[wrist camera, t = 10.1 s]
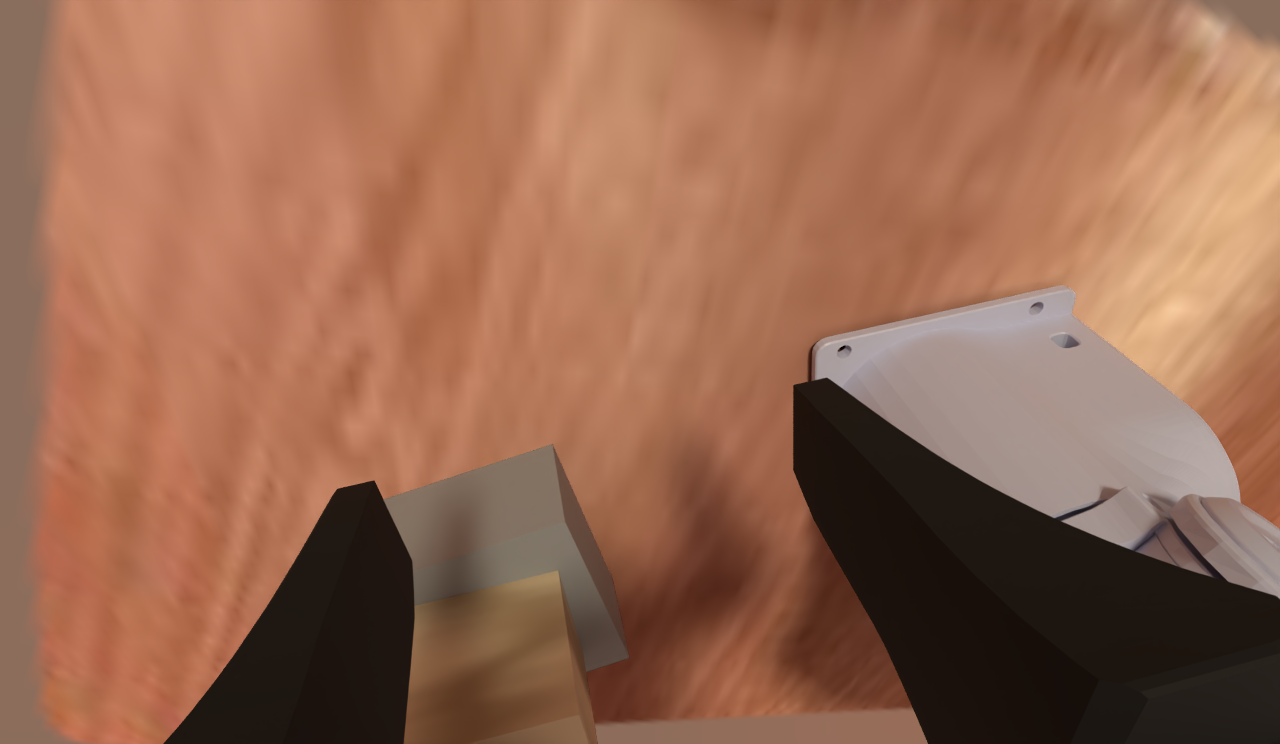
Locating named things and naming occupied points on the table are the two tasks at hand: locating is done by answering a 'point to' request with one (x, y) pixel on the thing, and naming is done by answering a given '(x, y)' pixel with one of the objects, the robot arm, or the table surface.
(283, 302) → the table surface
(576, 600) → the slate base block
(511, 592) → the maple cube
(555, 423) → the table surface
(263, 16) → the table surface
